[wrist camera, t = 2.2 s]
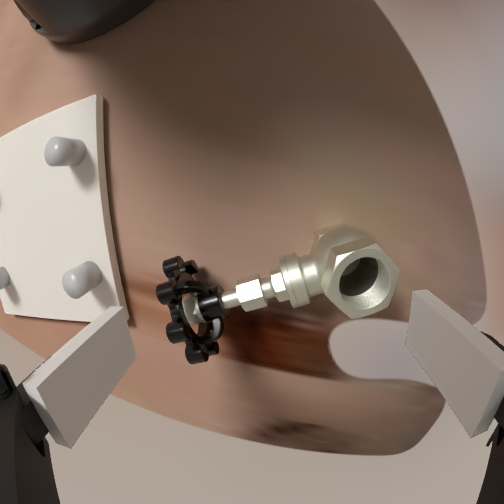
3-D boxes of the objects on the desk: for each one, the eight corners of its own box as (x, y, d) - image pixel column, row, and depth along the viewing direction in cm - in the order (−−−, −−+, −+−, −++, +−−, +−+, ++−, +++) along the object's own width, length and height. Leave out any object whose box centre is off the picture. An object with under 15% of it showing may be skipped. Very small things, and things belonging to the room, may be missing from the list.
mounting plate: (-14, 149, 18) (-38, 150, 15) (103, 96, 17) (76, 86, 14) (11, 309, 22) (-10, 322, 19) (129, 317, 21) (109, 339, 18)
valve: (351, 193, 18) (179, 247, 20) (391, 201, 12) (140, 279, 13) (373, 284, 19) (213, 331, 21) (411, 327, 13) (193, 387, 15)
